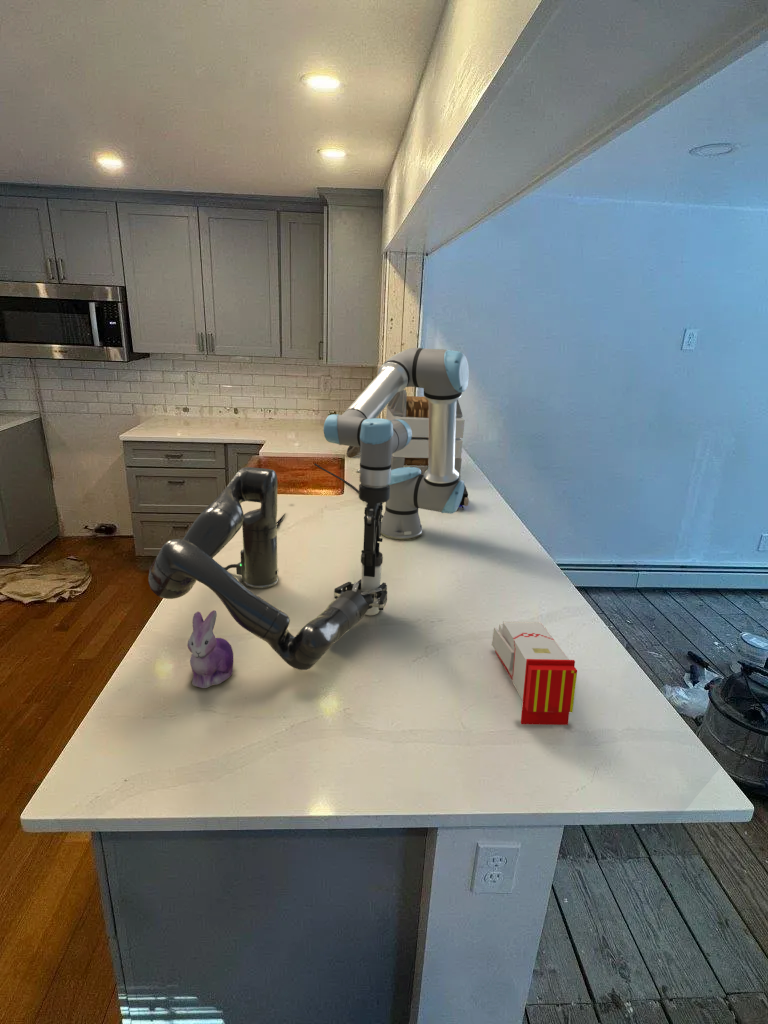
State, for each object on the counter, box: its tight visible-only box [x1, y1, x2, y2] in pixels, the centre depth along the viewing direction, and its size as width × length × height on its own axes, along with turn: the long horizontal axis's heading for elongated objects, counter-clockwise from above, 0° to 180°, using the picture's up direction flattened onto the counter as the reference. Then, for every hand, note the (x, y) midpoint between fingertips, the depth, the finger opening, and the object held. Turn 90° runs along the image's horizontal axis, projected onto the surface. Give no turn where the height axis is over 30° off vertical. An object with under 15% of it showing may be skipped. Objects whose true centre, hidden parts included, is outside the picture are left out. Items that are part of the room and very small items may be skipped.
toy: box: [491, 621, 578, 726], centre depth 121 cm, size 12×13×30 cm
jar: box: [360, 563, 382, 616], centre depth 146 cm, size 5×5×15 cm
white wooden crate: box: [385, 389, 465, 480], centre depth 268 cm, size 34×33×41 cm
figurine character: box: [458, 485, 470, 511], centre depth 230 cm, size 7×8×15 cm
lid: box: [360, 550, 384, 567], centre depth 144 cm, size 6×6×2 cm
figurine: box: [187, 609, 234, 689], centre depth 117 cm, size 9×10×15 cm
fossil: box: [346, 446, 360, 458], centre depth 305 cm, size 22×10×15 cm
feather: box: [276, 513, 286, 529], centre depth 210 cm, size 2×28×2 cm
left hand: (375, 583), depth 149 cm, fingers closed on jar, 5 cm apart
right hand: (371, 570), depth 145 cm, fingers closed on lid, 5 cm apart
